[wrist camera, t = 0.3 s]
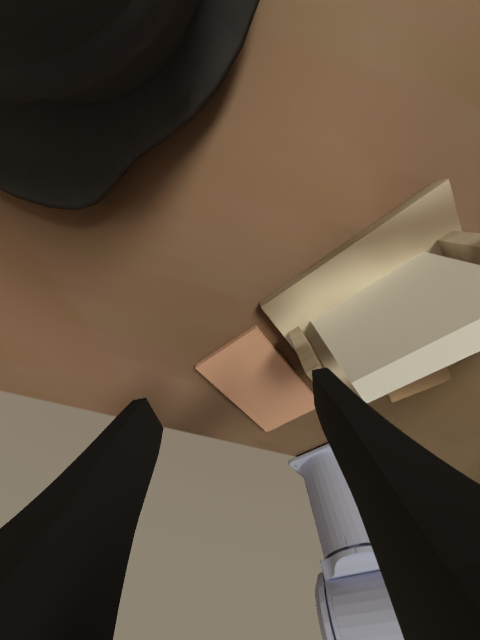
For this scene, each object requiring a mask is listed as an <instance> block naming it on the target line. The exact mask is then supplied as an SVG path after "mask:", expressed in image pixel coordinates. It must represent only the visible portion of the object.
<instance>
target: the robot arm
mask: <svg viewBox="0 0 480 640" xmlns="http://www.w3.org/2000/svg"><path fill="white" fill-rule="evenodd" d="M312 380H313V395H314V405H315V409H316V412H317V415H318V418H319V421H320V423H321V426H322V429H323V431H324V434H325V436H326V438H327V440H328V444H326V445H324V446H321V447H319V448H317V449H314V450H312V451H310V452H307V453H305V454H303V455H301V456H298V457H296V458H294V459H291V460H289V466H291V467H292V468H293V469H294V470H295V471H296V472H298V473H299V474H300V475H301V476H302V477H304V480H305V484H306V488H307V492H308V496H309V500H310V504H311V507H312V512H313V516H314V519H315V523H316V527H317V531H318V535H319V539H320V543H321V547H322V551H323V555H324V560H321V561H320V563H321V566H322V571H323V572H322V573H319V574H318V578H317V583H316V588H315V598H316V606H317V614H318V619H319V624H320V629H321V633H322V638H323V640H480V484H478V483H477V482H475V481H473V480H472V479H470V478H469V477H467V476H465V475H464V474H462V473H461V472H459V471H458V470H456V469H455V468H453V467H452V466H450V465H449V464H447V463H446V462H444V461H443V460H441V459H440V458H438V457H437V456H435V455H434V454H433V453H431V452H430V451H428V450H427V449H425V448H424V447H423V446H421V445H420V444H418V443H417V442H416V441H414V440H413V439H411V438H410V437H409V436H407V435H406V434H405V433H403V432H402V431H401V430H399V429H398V428H397V427H396V426H394V425H393V424H392V423H390V422H389V421H388V420H386V419H385V418H384V417H383V416H382V415H380V414H379V413H378V412H377V411H375V410H374V409H373V408H372V407H371V406H369V405H368V404H367V403H366V402H365V401H364V400H362V399H361V398H360V397H359V396H358V395H357V394H355V393H354V392H353V391H352V390H351V389H350V388H349V387H348V386H347V385H346V384H344V383H343V382H342V381H341V380H340V379H339V378H338V377H337V376H336V375H335V374H334V373H333V372H332V371H331V370H330V369H328V368H327V367H326V368H320V369H315V370H312ZM162 432H163V427H162V425H161V423H160V421H159V420H158V418H157V416H156V414H155V413H154V411H153V409H152V408H151V406H150V404H149V402H148V401H147V399H146V398H143V399H137V400H133V401H132V402H131V403H130V404H129V405H128V406H127V407H126V408H125V409H124V410H123V411H122V412H121V413H120V414H119V415H118V416H117V417H116V418H115V419H114V420H113V421H112V422H111V423H110V425H108V427H107V428H106V429H105V430H104V431H103V432H102V433H101V434H100V435H99V436H98V437H97V438H96V439H95V440H94V441H93V442H92V443H91V444H90V446H89V447H88V448H87V449H86V450H85V451H84V452H83V453H82V454H81V455H80V456H79V457H78V458H77V459H76V460H75V461H74V462H73V463H72V464H71V465H70V466H69V467H68V468H67V469H66V470H65V471H64V472H63V473H62V474H61V475H60V476H59V477H58V478H57V479H55V480H54V481H53V482H52V483H51V484H50V485H49V486H48V487H47V488H46V489H45V490H44V491H43V492H42V493H40V495H38V496H37V497H36V498H35V499H34V500H33V501H32V502H30V503H29V505H27V506H26V507H25V508H24V509H23V510H22V511H20V512H19V513H18V514H17V515H16V516H15V517H14V518H12V519H11V520H10V521H9V522H8V523H6V524H5V525H4V526H3V527H2V528H1V529H0V640H113V635H114V629H115V624H116V619H117V613H118V607H119V603H120V598H121V592H122V588H123V583H124V578H125V573H126V568H127V564H128V560H129V555H130V551H131V546H132V542H133V537H134V533H135V530H136V526H137V522H138V519H139V515H140V512H141V509H142V506H143V503H144V499H145V496H146V493H147V490H148V486H149V483H150V480H151V477H152V474H153V470H154V467H155V464H156V461H157V457H158V454H159V449H160V444H161V439H162Z"/></svg>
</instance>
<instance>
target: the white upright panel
mask: <svg viewBox="0 0 480 640" xmlns="http://www.w3.org/2000/svg"><path fill="white" fill-rule="evenodd" d="M311 323H312V324H313V326H314V327H315V329H316V330H317V332H318V333H319V335H320V336H321V338H322V339H323V341H324V342H325V344H326V346H327V347H328V349H329V350H330V352H331V353H332V355H333V356H334V358H335V359H336V361H337V362H338V364H339V365H340V367H341V368H342V370H343V371H344V373H345V374H346V376H347V378H348V379H349V381H350V382H351V384H352V385H353V386H354V388H355V389H356V391H357V392H358V394H359V395H360V396H361V398H362V399H363V400H364V401H365V402H366V403H369V402H371V401H373V400H375V399H377V398H379V397H382V396H384V395H386V394H388V393H390V392H392V391H395V390H397V389H399V388H401V387H403V386H405V385H408V384H410V383H412V382H414V381H416V380H418V379H421V378H423V377H425V376H427V375H429V374H431V373H433V372H436V371H438V370H440V369H442V368H444V367H446V366H449V365H451V364H453V363H455V362H457V361H459V360H462V359H464V358H466V357H468V356H470V355H472V354H475V353H477V352H479V351H480V265H477V264H473V263H469V262H465V261H461V260H456V259H452V258H448V257H444V256H440V255H435V254H431V253H427V252H422V253H420V254H418V255H417V256H415V257H414V258H412V259H410V260H409V261H407V262H405V263H404V264H402V265H401V266H399V267H397V268H396V269H394V270H392V271H391V272H389V273H388V274H386V275H384V276H383V277H381V278H379V279H378V280H376V281H375V282H373V283H371V284H370V285H368V286H366V287H365V288H363V289H362V290H360V291H358V292H357V293H355V294H353V295H352V296H350V297H349V298H347V299H345V300H344V301H342V302H340V303H339V304H337V305H336V306H334V307H332V308H331V309H329V310H327V311H326V312H324V313H323V314H321V315H319V316H318V317H316V318H315V319H313V320H311Z"/></svg>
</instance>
